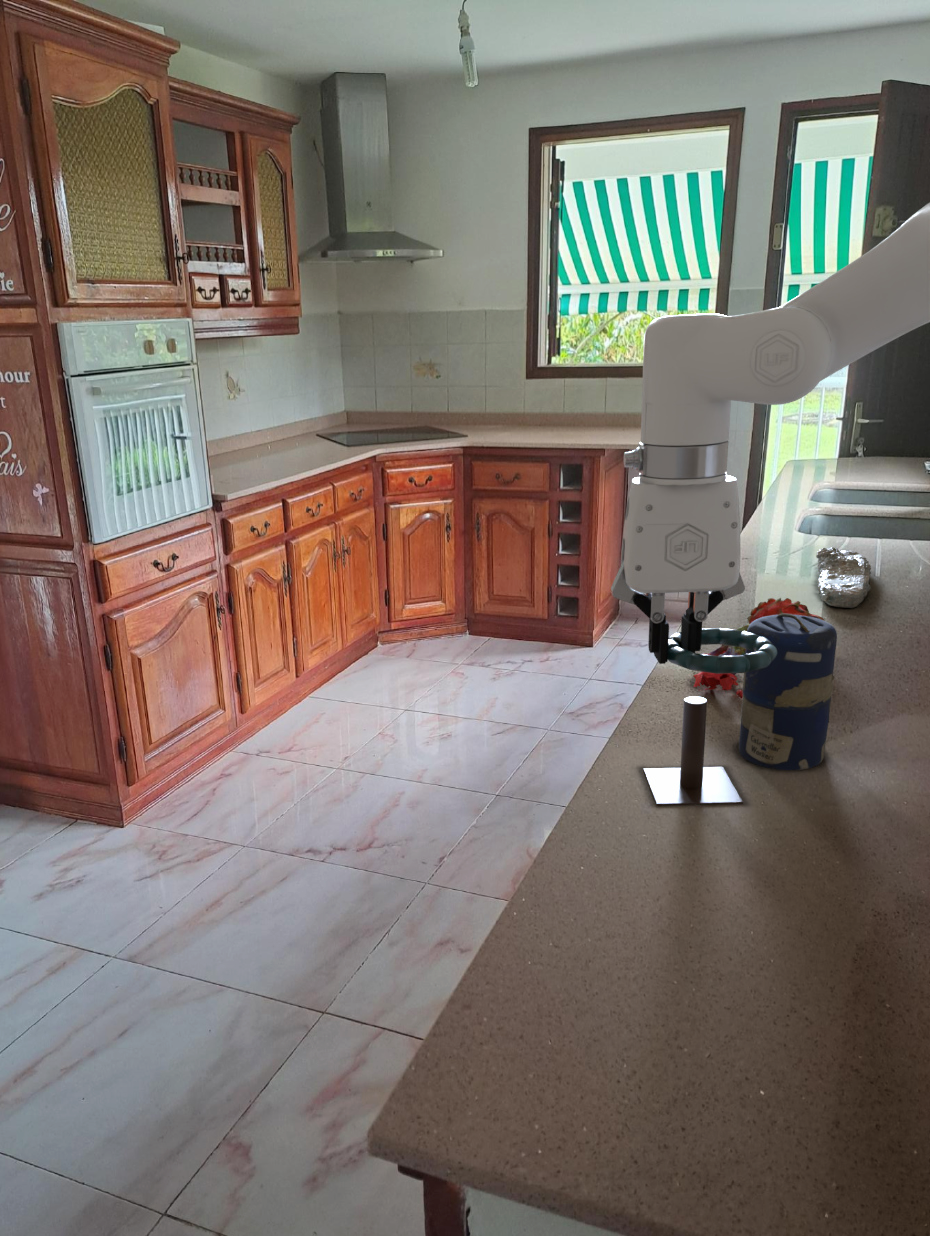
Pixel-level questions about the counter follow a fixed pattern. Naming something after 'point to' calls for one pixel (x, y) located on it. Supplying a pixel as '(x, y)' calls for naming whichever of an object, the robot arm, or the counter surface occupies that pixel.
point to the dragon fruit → (779, 609)
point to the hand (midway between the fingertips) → (673, 657)
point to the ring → (724, 664)
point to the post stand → (692, 767)
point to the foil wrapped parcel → (842, 577)
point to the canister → (789, 694)
